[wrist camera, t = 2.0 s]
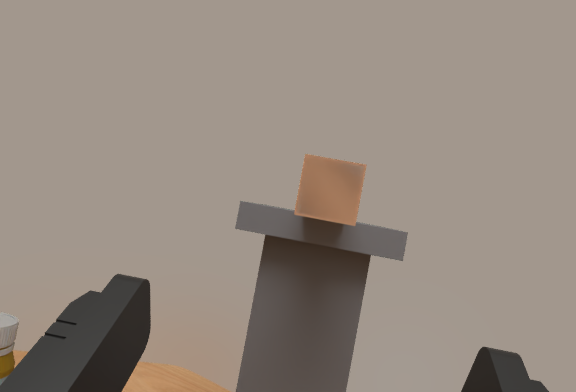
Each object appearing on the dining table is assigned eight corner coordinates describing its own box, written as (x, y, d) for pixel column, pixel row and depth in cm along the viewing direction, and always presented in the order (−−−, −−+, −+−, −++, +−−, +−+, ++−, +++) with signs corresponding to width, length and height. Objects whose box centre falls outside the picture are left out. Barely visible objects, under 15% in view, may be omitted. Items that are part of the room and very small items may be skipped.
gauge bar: (355, 226, 24) (366, 164, 24) (293, 214, 24) (305, 153, 24) (338, 219, 48) (344, 188, 48) (307, 213, 48) (313, 183, 48)
